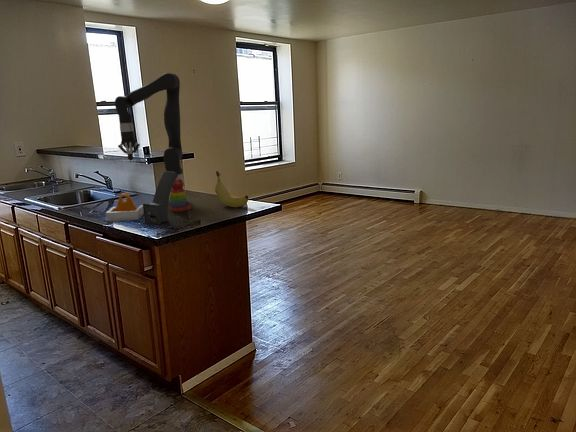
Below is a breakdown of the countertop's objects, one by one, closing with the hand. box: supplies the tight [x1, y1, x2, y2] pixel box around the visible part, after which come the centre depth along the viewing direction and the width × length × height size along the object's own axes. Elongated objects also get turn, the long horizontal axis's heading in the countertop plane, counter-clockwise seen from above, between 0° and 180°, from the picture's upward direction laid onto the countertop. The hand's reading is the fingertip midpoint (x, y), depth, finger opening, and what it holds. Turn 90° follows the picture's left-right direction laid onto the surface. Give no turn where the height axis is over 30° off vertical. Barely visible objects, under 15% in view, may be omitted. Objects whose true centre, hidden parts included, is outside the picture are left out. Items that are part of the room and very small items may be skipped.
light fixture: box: [142, 170, 178, 226], centre depth 224 cm, size 11×17×24 cm, turn 147°
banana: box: [214, 171, 249, 208], centre depth 250 cm, size 23×6×20 cm, turn 58°
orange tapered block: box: [115, 192, 138, 212], centre depth 237 cm, size 11×7×12 cm
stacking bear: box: [169, 179, 192, 213], centre depth 246 cm, size 11×10×18 cm
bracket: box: [105, 204, 144, 222], centre depth 235 cm, size 16×14×4 cm
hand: (130, 160), depth 266 cm, fingers closed
